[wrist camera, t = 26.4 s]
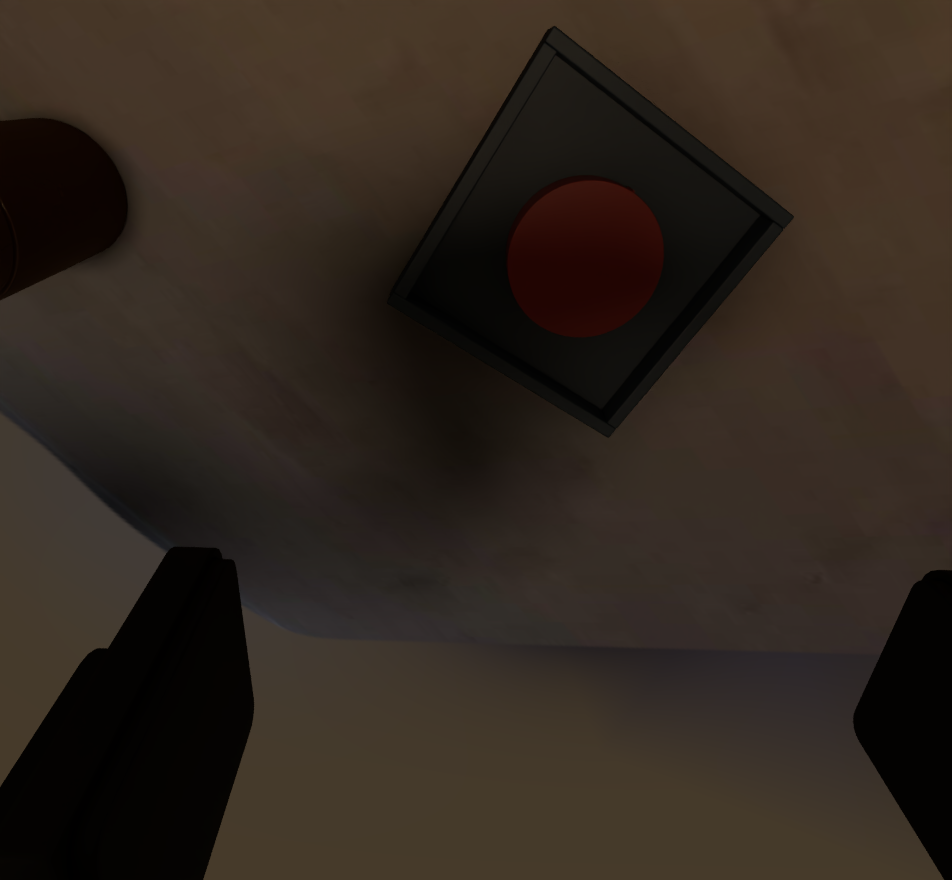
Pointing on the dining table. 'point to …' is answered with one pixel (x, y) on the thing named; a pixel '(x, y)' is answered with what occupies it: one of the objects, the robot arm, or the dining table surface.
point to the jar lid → (584, 256)
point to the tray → (571, 154)
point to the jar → (53, 201)
